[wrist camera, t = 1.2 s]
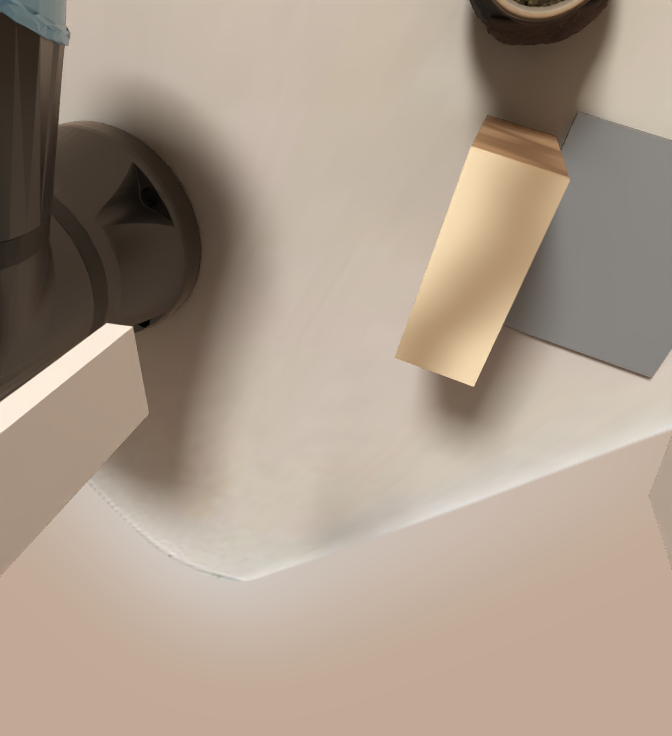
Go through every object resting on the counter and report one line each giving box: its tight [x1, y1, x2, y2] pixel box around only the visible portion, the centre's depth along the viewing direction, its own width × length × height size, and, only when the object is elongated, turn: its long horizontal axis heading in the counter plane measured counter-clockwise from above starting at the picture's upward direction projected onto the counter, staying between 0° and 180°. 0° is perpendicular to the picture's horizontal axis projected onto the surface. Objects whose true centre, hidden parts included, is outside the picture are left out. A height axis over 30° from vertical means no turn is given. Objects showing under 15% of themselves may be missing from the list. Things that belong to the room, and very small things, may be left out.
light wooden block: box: [395, 115, 570, 387], centre depth 30 cm, size 4×10×12 cm, turn 166°
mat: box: [503, 112, 672, 378], centre depth 34 cm, size 11×13×1 cm
